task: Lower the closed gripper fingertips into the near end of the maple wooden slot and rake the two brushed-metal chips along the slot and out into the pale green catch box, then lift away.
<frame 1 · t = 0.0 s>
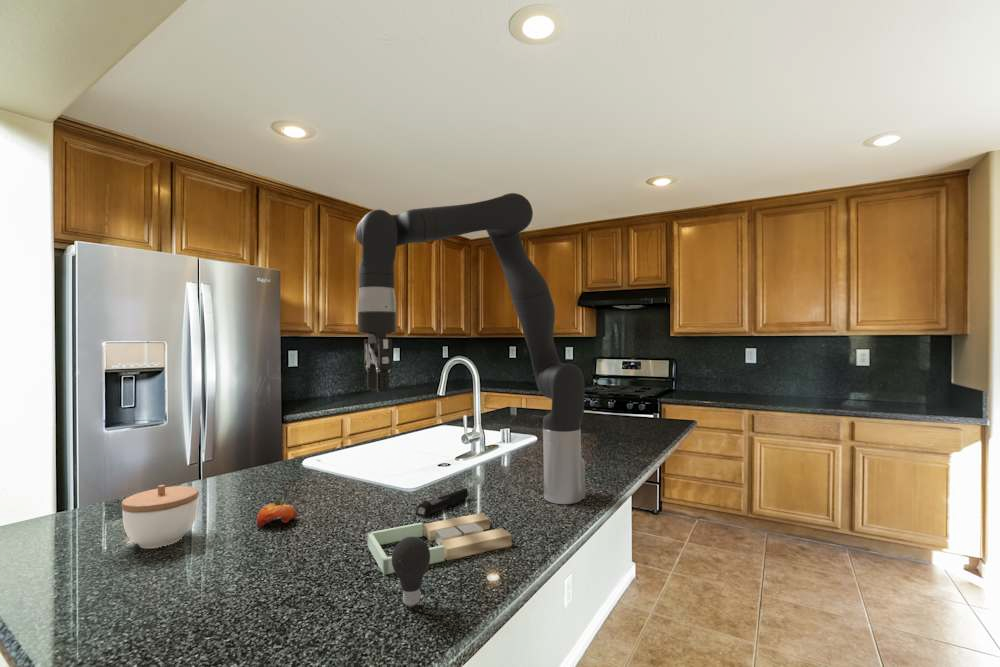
hand: (377, 390, 99), 29 cm above the countertop, tool pointing down, fingers open, 8 cm apart
lidded bowl: (161, 542, 97), on the countertop
metal chip 2: (448, 545, 93), on the countertop
light bulb: (411, 607, 72), on the countertop
tomato: (277, 524, 105), on the countertop
electric trimmer: (442, 509, 114), on the countertop
metal chip 1: (469, 540, 96), on the countertop
slot rails: (466, 539, 95), on the countertop
catch box: (404, 553, 90), on the countertop
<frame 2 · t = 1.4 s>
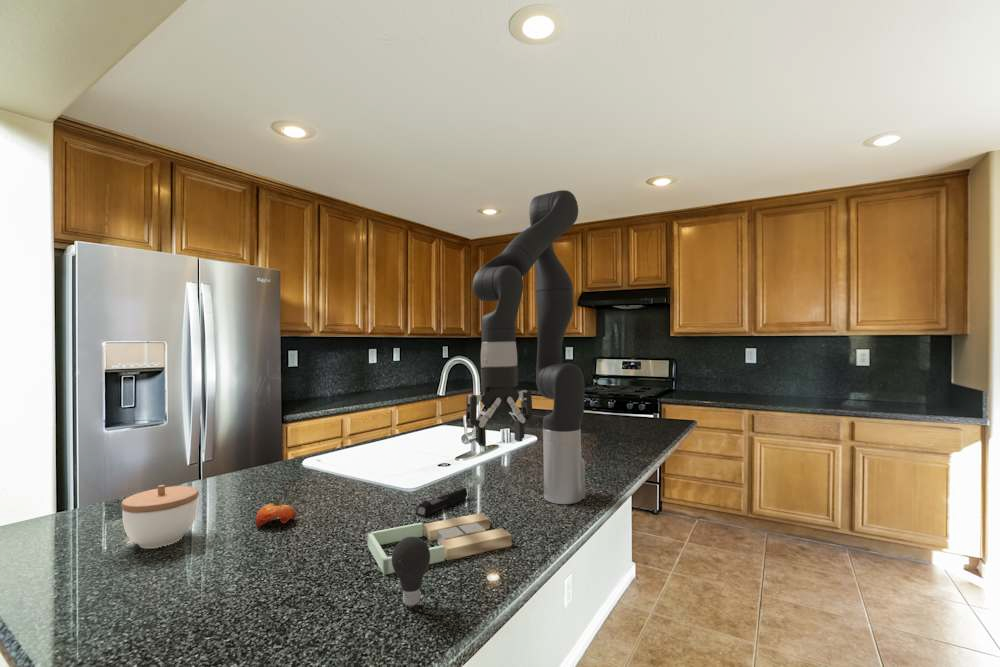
hand: (500, 443, 99), 18 cm above the countertop, tool pointing down, fingers open, 8 cm apart
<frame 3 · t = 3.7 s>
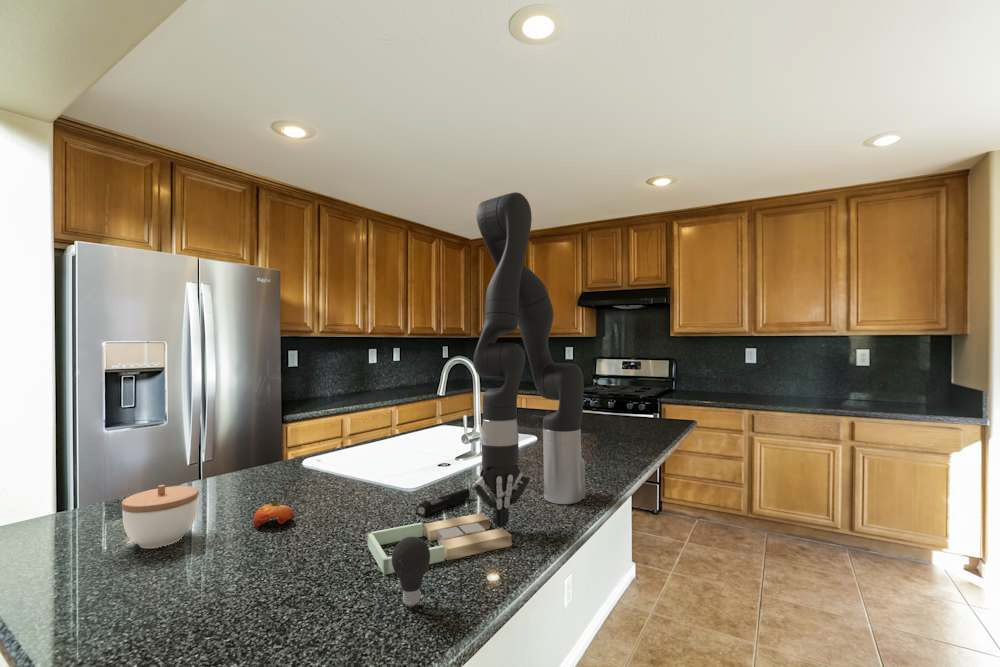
hand: (500, 525, 99), 1 cm above the countertop, tool pointing down, fingers closed
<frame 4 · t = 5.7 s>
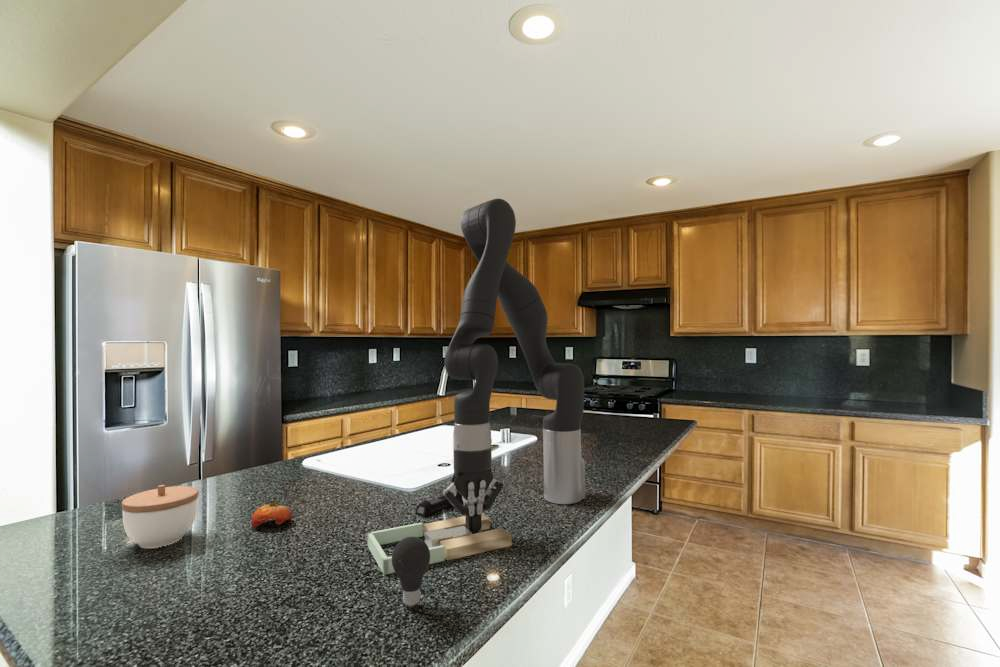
hand: (473, 532, 96), 1 cm above the countertop, tool pointing down, fingers closed
metal chip 2: (438, 547, 92), on the countertop
metal chip 1: (458, 544, 94), on the countertop, touching gripper
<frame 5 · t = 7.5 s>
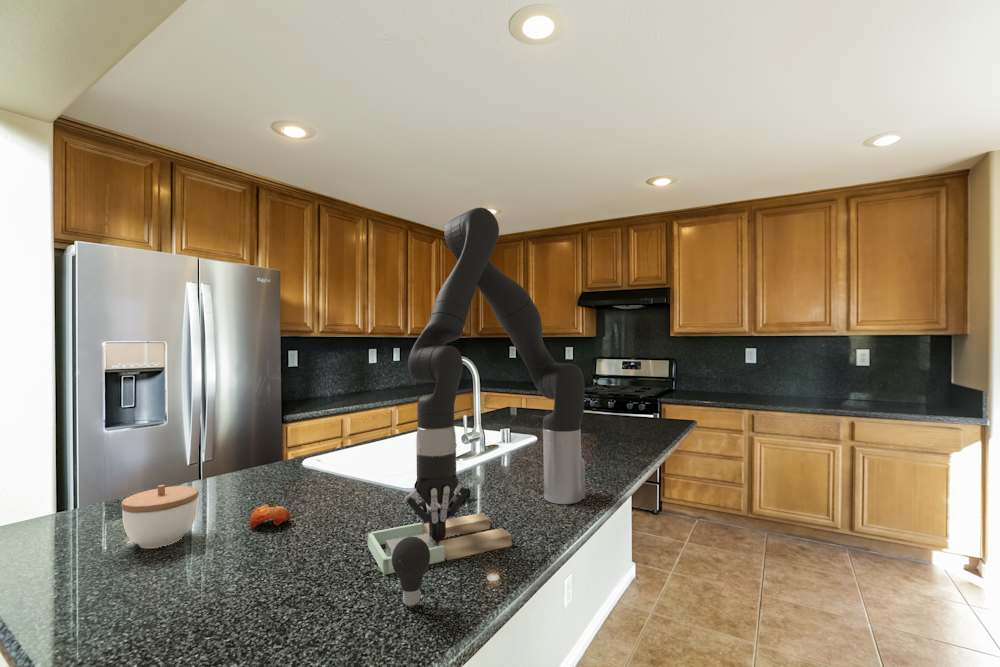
hand: (437, 540, 92), 1 cm above the countertop, tool pointing down, fingers closed
metal chip 2: (399, 556, 89), on the countertop
metal chip 1: (420, 552, 90), on the countertop
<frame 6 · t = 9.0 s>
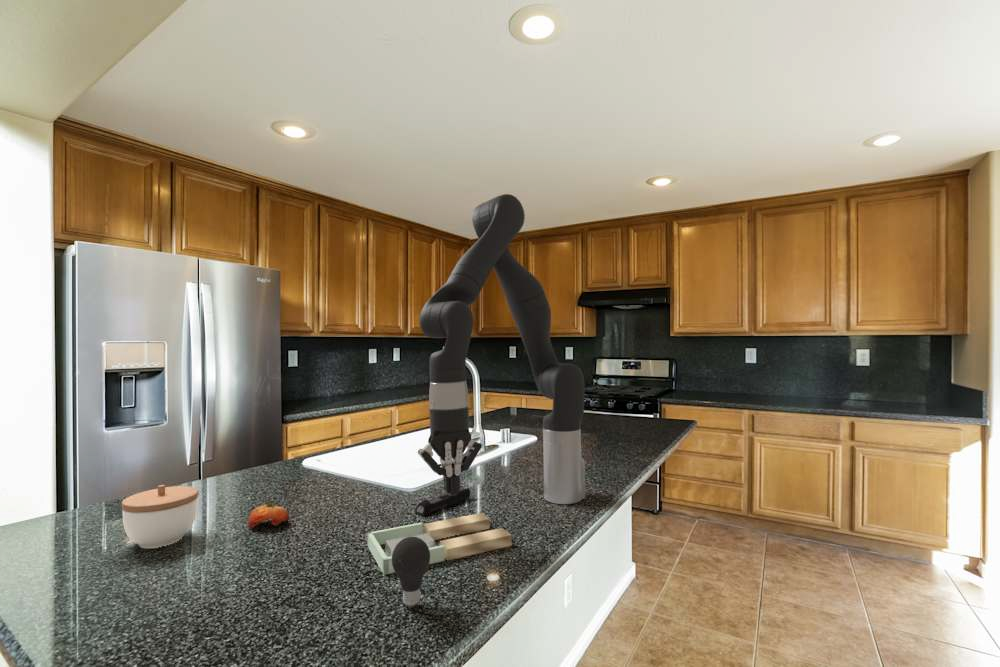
hand: (451, 494, 94), 9 cm above the countertop, tool pointing down, fingers closed
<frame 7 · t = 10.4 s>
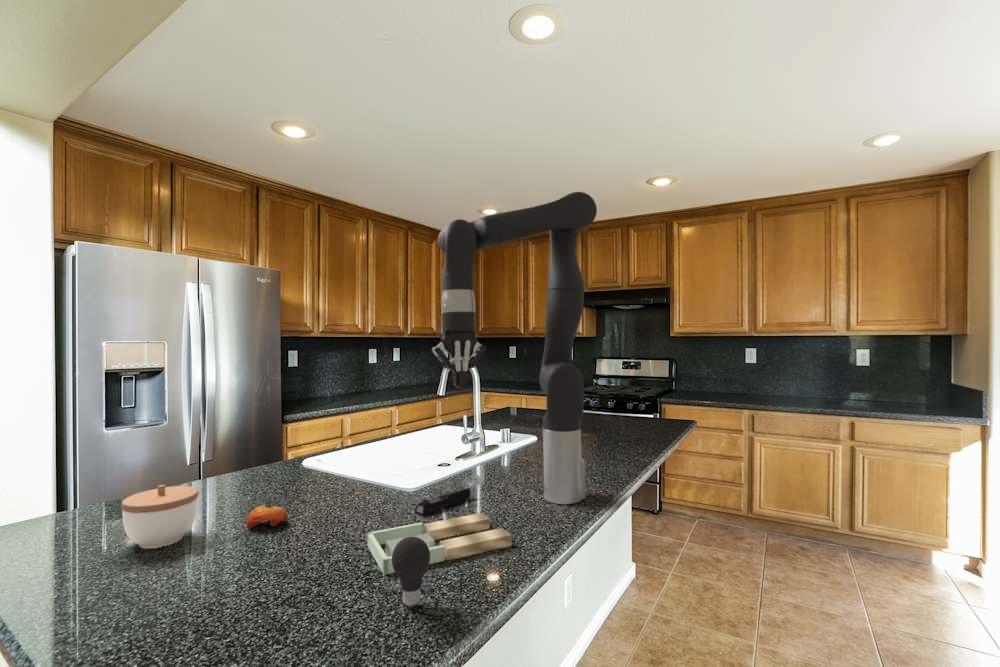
hand: (460, 388, 109), 29 cm above the countertop, tool pointing down, fingers closed
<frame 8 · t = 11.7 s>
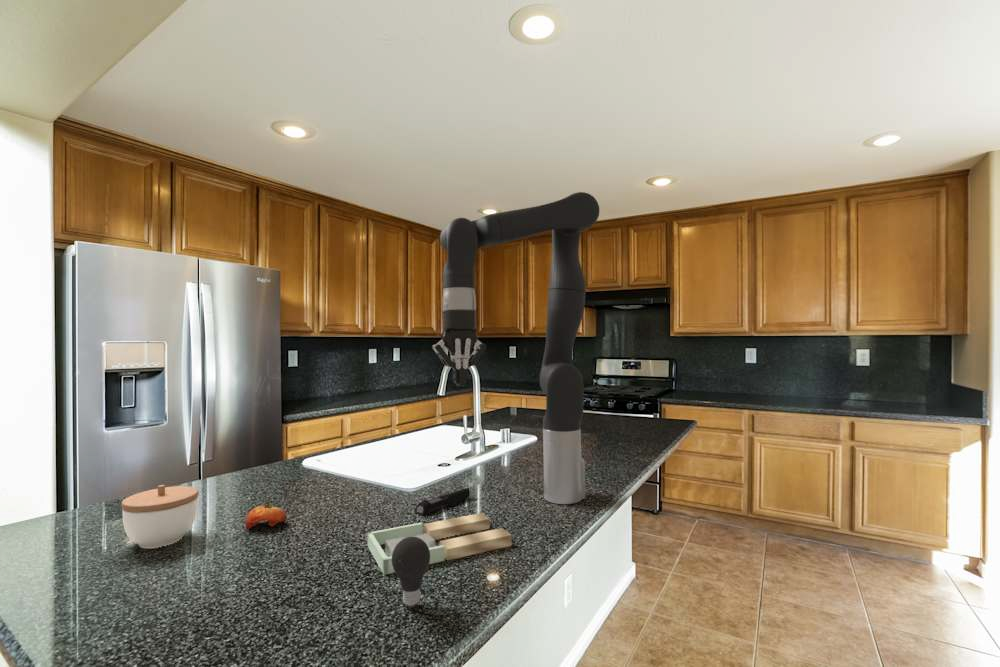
hand: (460, 385, 109), 29 cm above the countertop, tool pointing down, fingers closed
metal chip 2: (398, 556, 89), on the countertop, touching metal chip 1
metal chip 1: (421, 552, 90), on the countertop, touching metal chip 2
at the end: metal chip 1 inside the target area (3.4 cm from its centre), on the countertop; metal chip 2 inside the target area (0.9 cm from its centre), on the countertop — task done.
